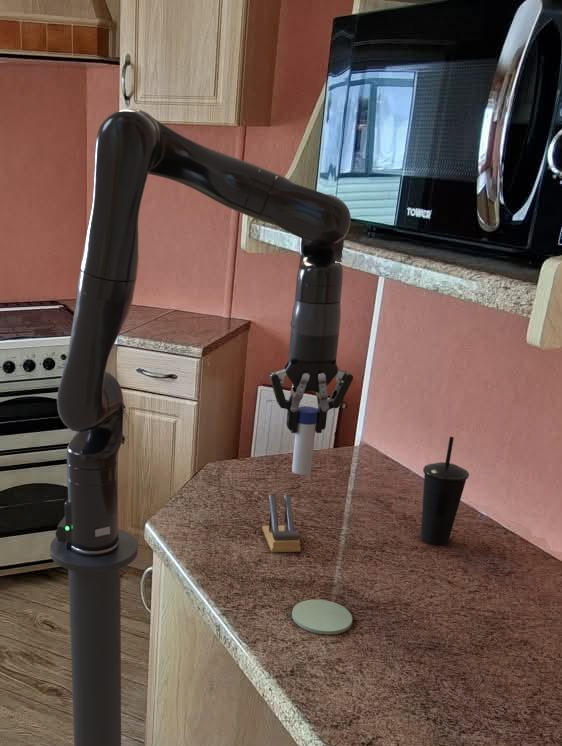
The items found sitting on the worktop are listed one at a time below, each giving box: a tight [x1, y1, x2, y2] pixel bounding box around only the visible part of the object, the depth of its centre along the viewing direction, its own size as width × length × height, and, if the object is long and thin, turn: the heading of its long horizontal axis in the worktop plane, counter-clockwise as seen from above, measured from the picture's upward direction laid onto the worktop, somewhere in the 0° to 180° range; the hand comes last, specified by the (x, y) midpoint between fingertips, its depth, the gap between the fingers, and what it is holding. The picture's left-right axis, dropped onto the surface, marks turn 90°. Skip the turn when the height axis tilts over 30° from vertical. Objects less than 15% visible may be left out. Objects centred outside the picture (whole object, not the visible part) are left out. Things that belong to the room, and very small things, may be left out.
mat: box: [291, 598, 353, 635], centre depth 121 cm, size 9×9×1 cm
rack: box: [261, 493, 302, 553], centre depth 144 cm, size 9×5×8 cm, turn 2°
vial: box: [291, 406, 318, 476], centre depth 132 cm, size 10×4×10 cm
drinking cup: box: [420, 436, 470, 546], centre depth 142 cm, size 8×8×20 cm
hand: (305, 431), depth 132 cm, fingers closed on vial, 3 cm apart
